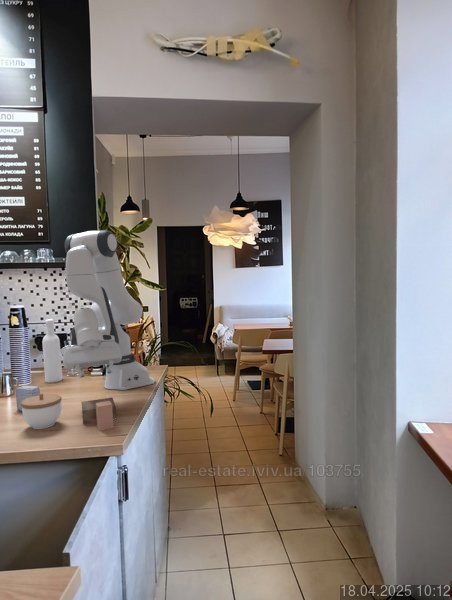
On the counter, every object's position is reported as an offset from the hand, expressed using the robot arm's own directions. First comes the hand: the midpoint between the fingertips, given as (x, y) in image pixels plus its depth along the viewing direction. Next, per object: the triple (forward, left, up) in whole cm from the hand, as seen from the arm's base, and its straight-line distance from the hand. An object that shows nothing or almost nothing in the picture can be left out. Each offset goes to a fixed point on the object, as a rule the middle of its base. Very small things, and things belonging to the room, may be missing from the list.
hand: (96, 374), depth 149 cm
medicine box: (+22, -25, -16) cm, 37 cm away
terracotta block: (0, +11, -15) cm, 19 cm away
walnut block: (0, -1, -16) cm, 16 cm away
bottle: (+10, -68, -16) cm, 70 cm away
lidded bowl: (+18, -2, -16) cm, 24 cm away
